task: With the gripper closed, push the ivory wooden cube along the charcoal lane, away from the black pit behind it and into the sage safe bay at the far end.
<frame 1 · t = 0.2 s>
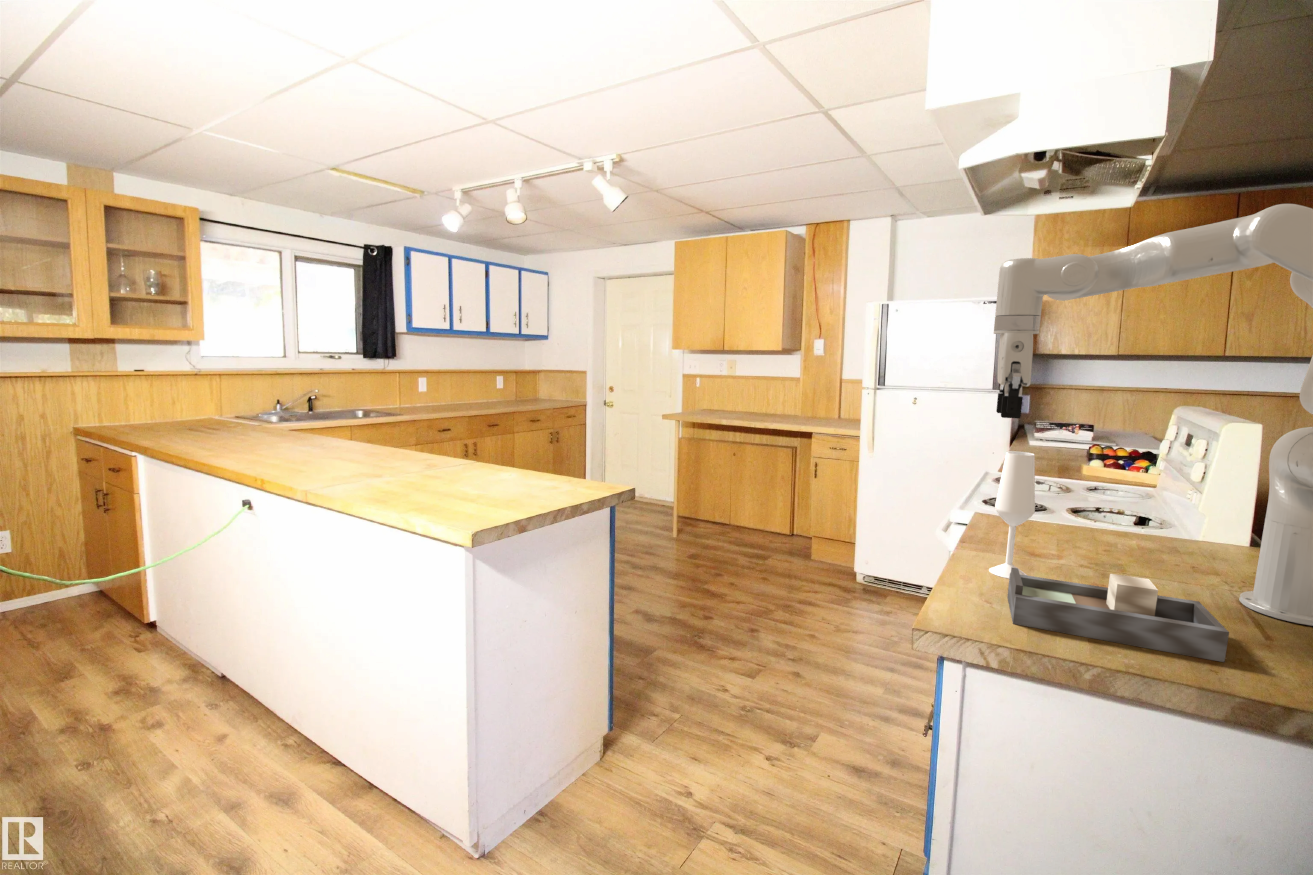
hand: (1007, 415, 118), 31 cm above the worktop, tool pointing down, fingers open, 9 cm apart
block: (1129, 611, 95), point 3 cm above the worktop, touching lane
lane: (1103, 625, 97), on the worktop
champagne flute: (1007, 573, 120), on the worktop
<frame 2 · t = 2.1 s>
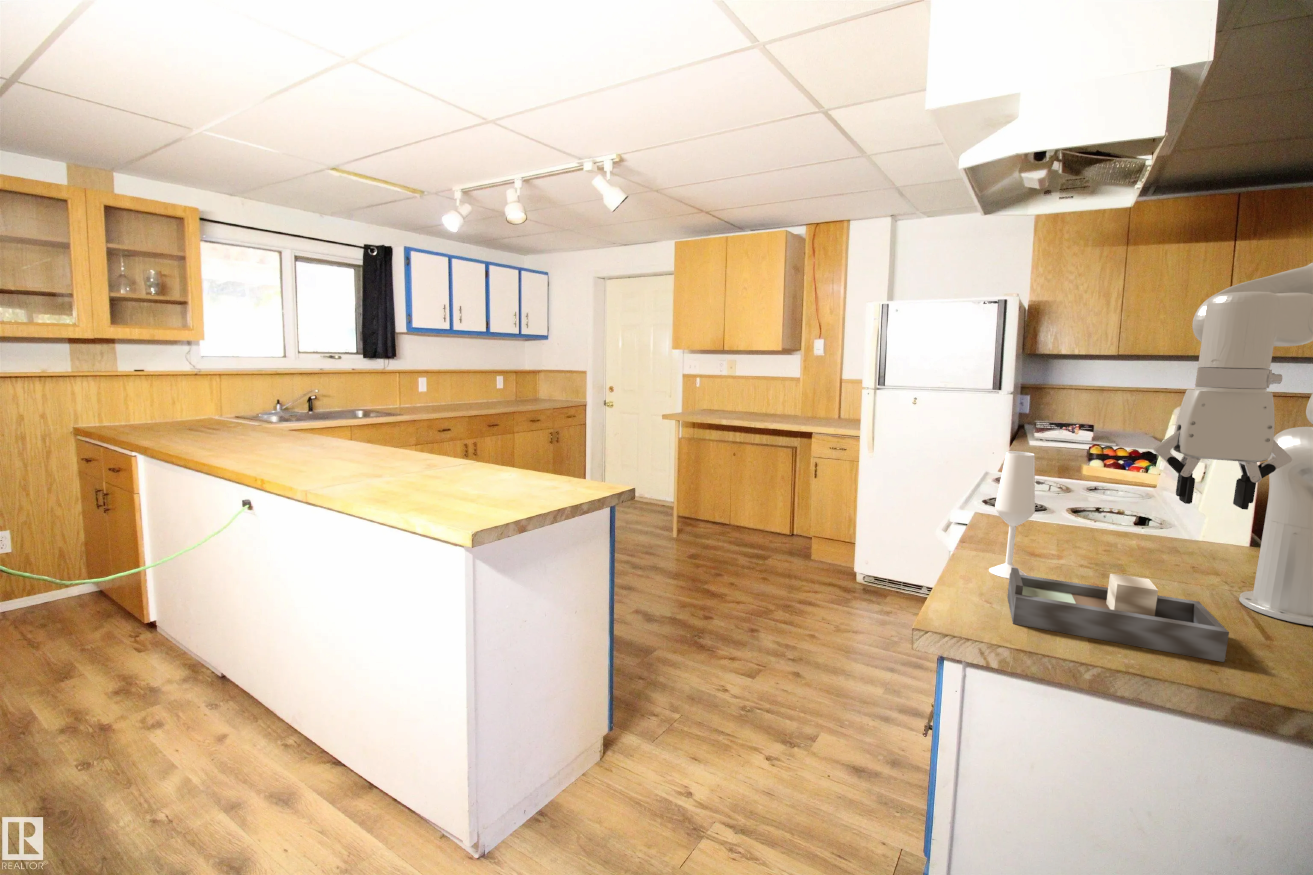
hand: (1212, 503, 89), 22 cm above the worktop, tool pointing down, fingers open, 5 cm apart
nothing on the worktop moved.
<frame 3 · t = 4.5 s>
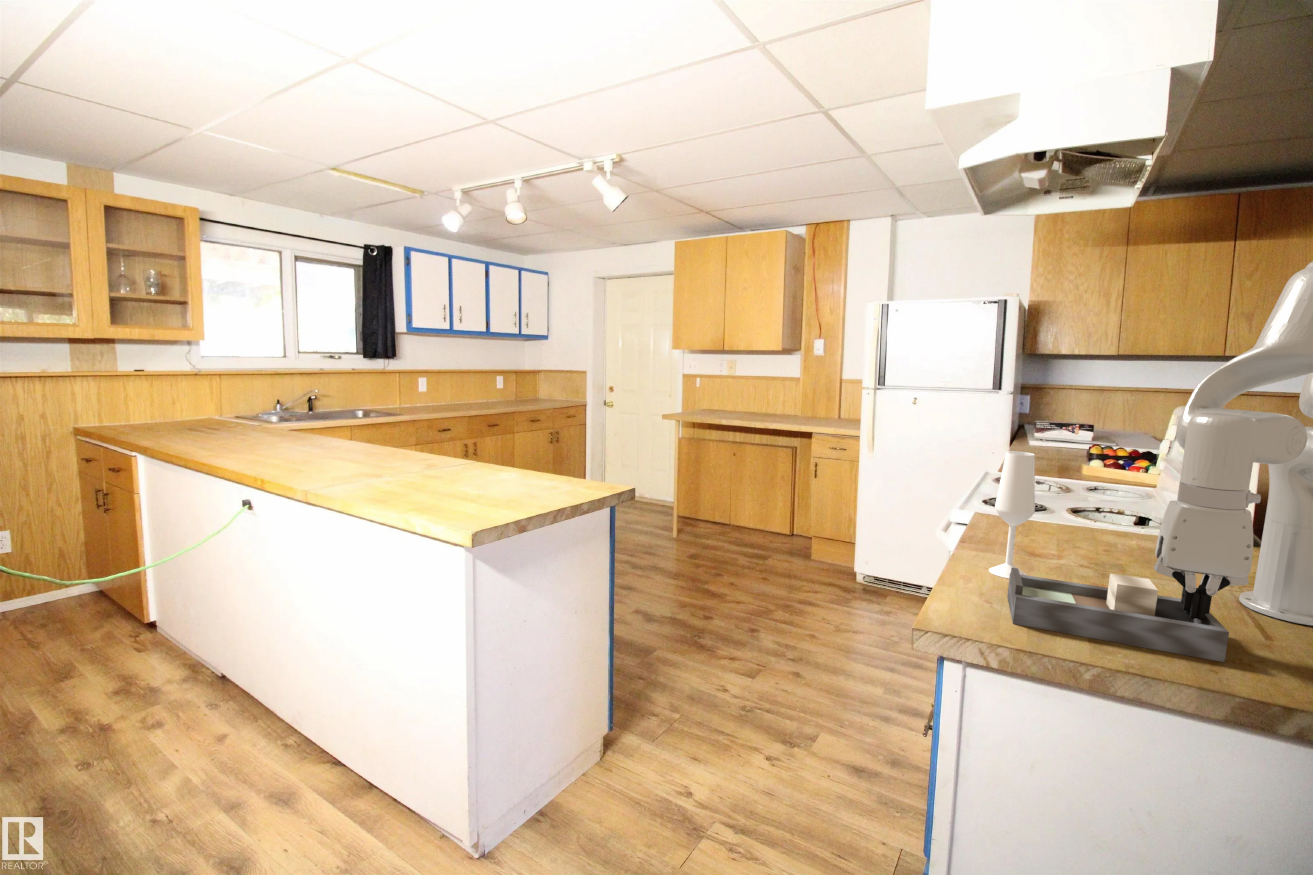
hand: (1193, 615, 92), 4 cm above the worktop, tool pointing down, fingers closed
nothing on the worktop moved.
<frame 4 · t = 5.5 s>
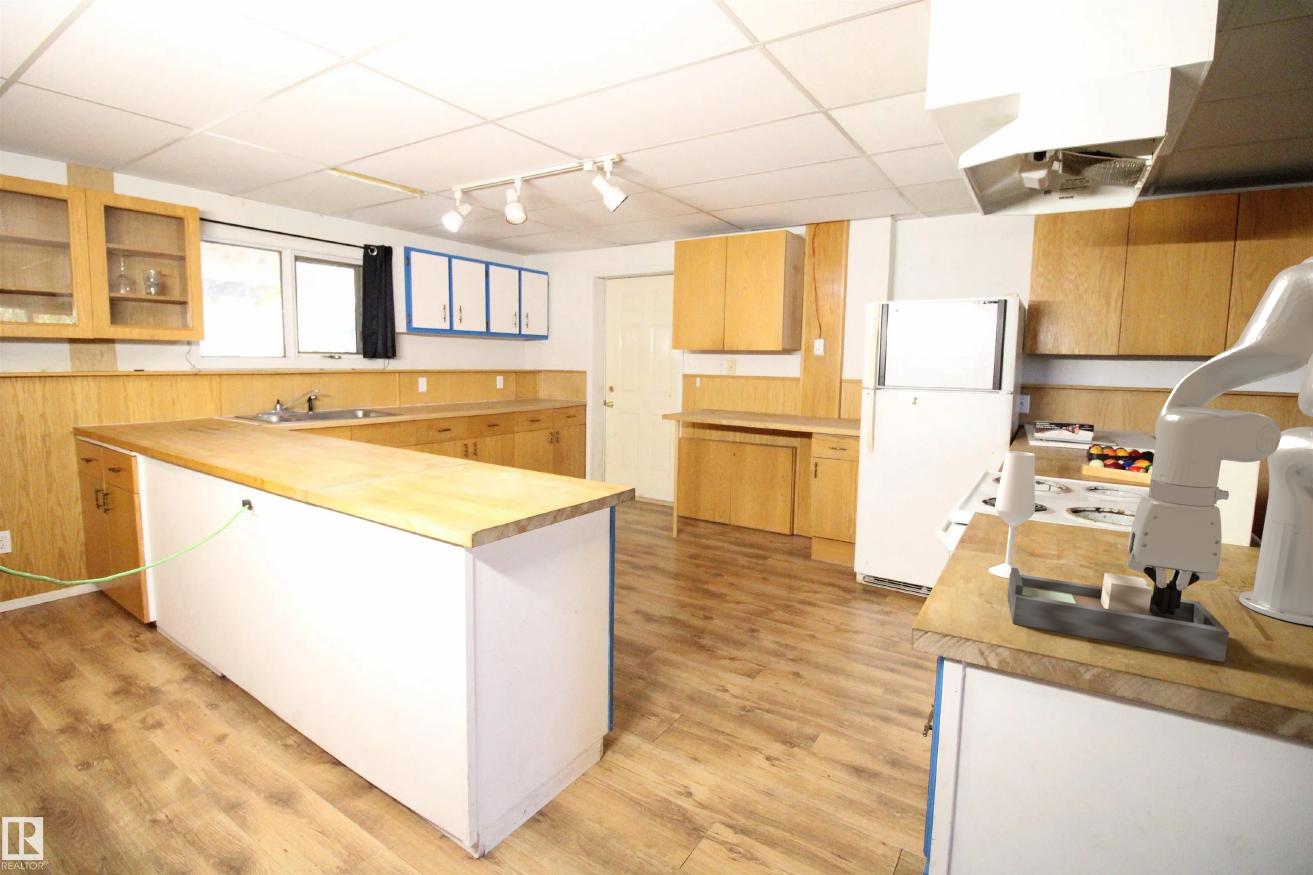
hand: (1164, 610, 93), 4 cm above the worktop, tool pointing down, fingers closed
block: (1123, 610, 96), point 3 cm above the worktop, touching gripper
everything else where it was.
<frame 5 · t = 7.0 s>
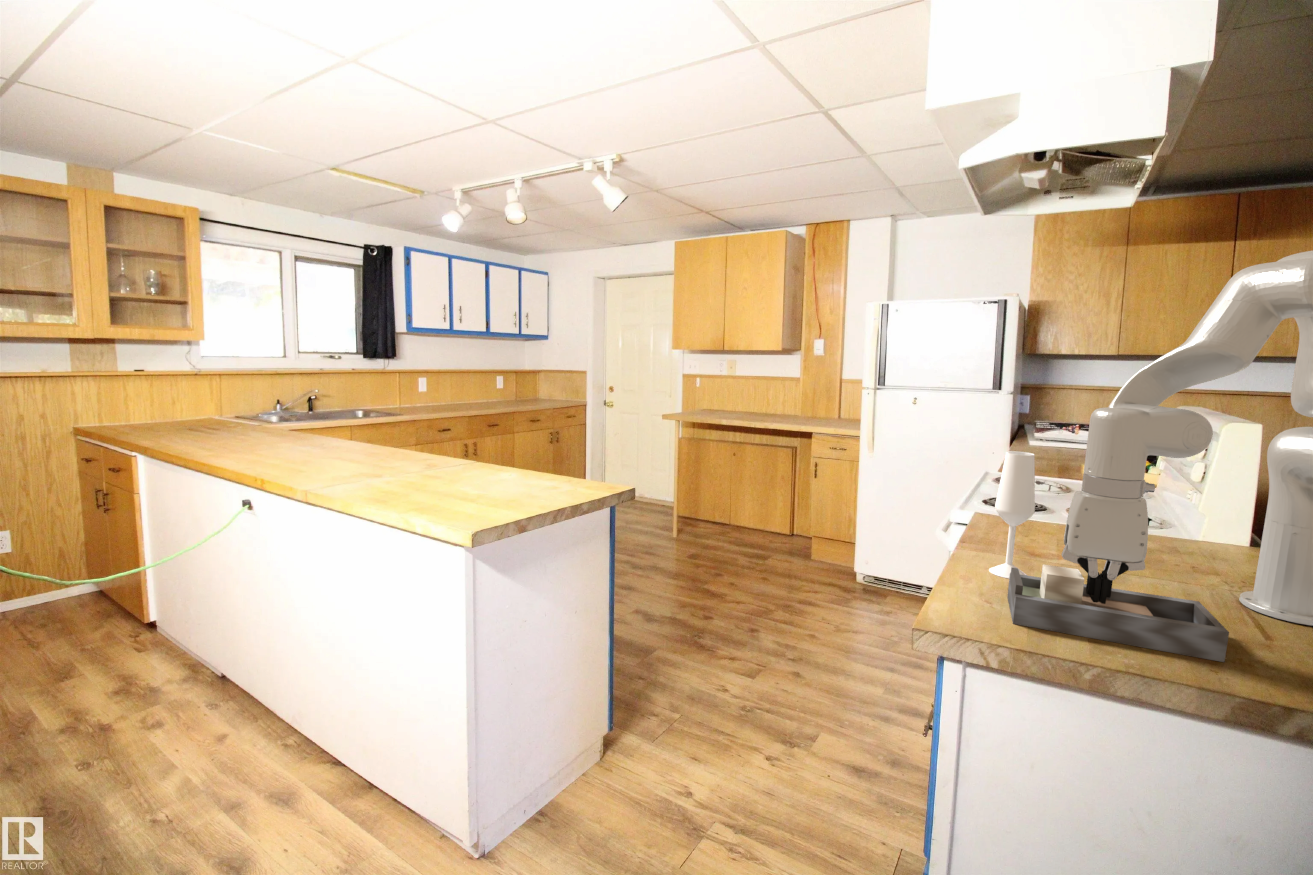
hand: (1097, 599, 97), 4 cm above the worktop, tool pointing down, fingers closed
block: (1059, 600, 99), point 3 cm above the worktop, touching gripper
everything else where it was.
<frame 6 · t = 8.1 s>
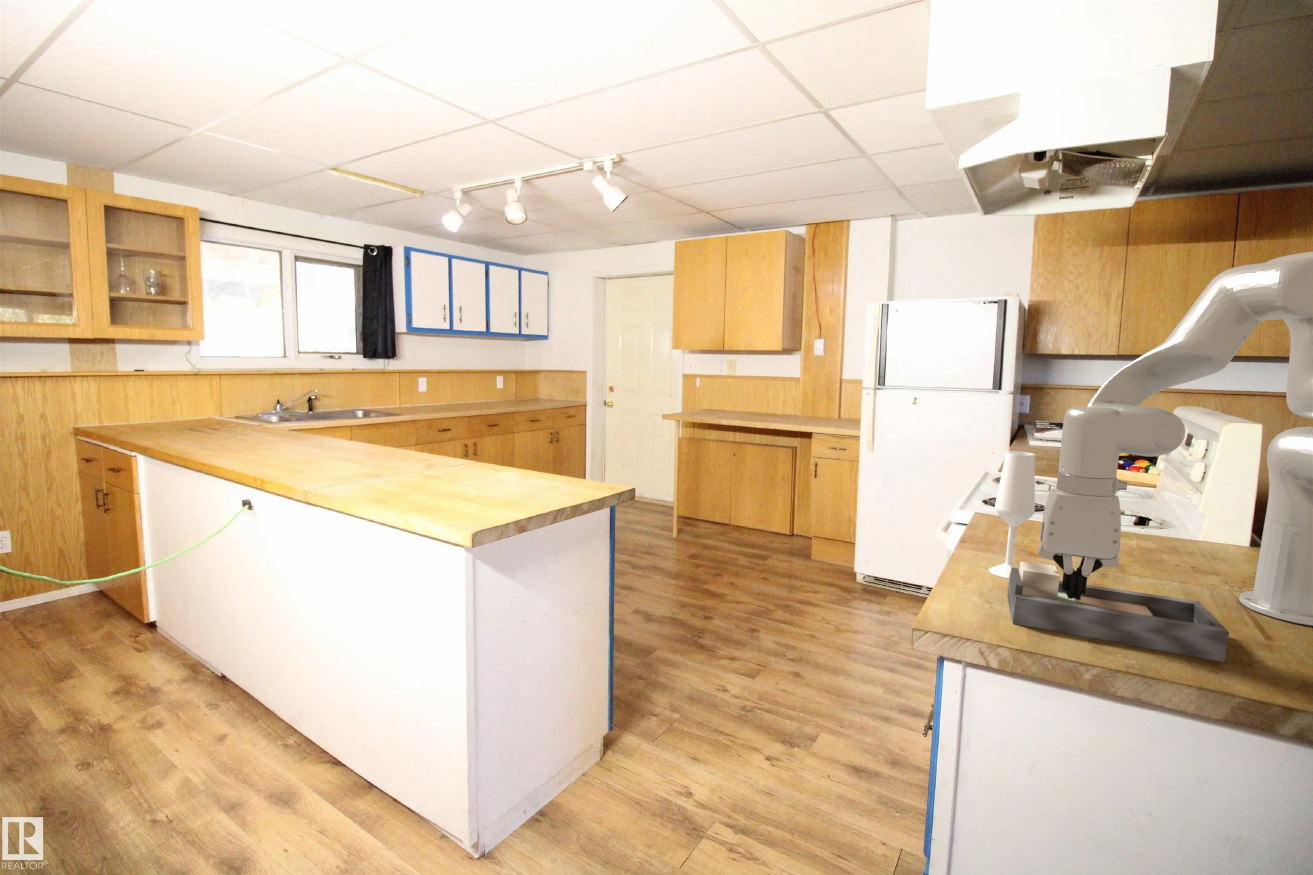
hand: (1072, 596, 98), 4 cm above the worktop, tool pointing down, fingers closed
block: (1036, 597, 101), point 3 cm above the worktop, touching gripper, lane
everything else where it was.
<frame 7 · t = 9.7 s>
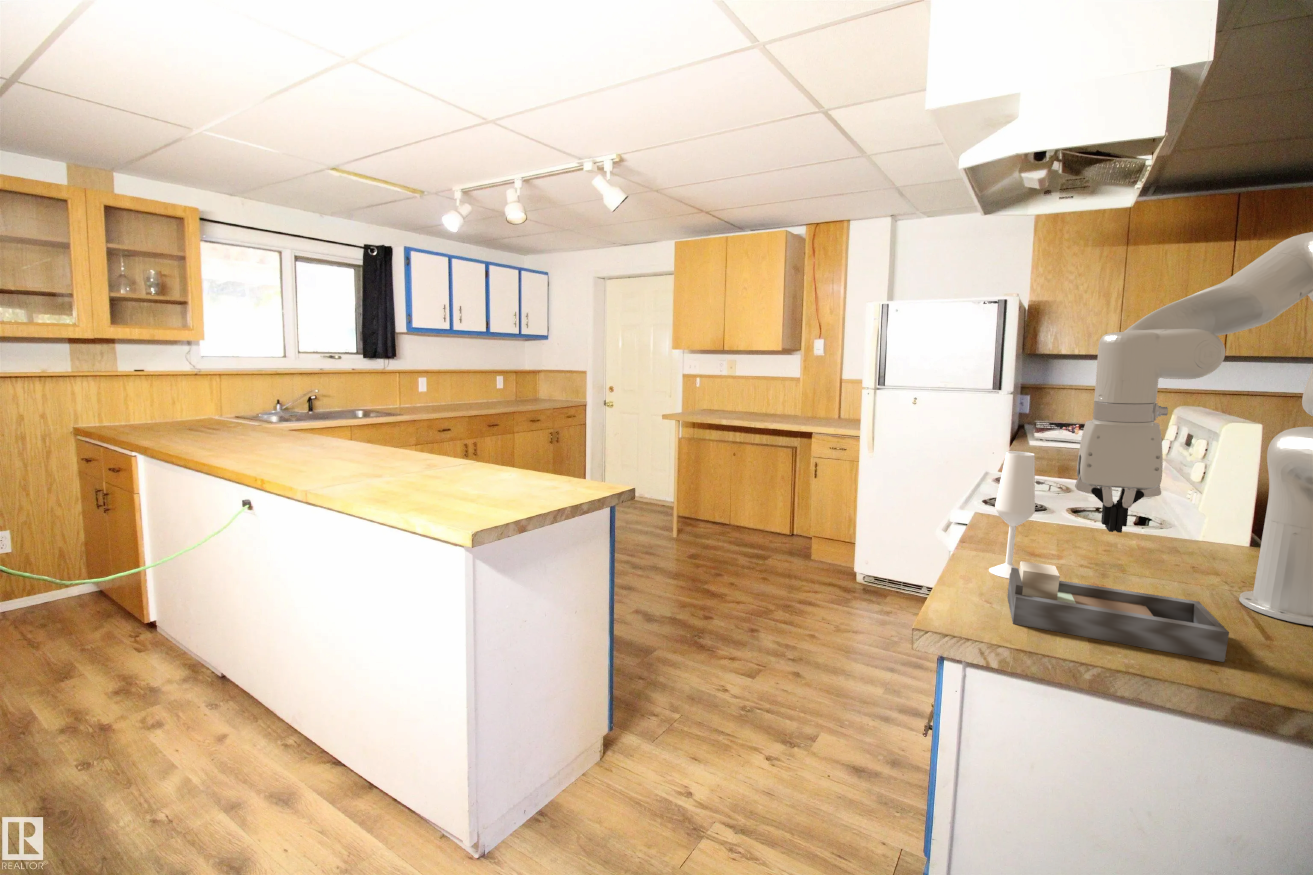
hand: (1113, 529, 95), 16 cm above the worktop, tool pointing down, fingers closed
block: (1036, 597, 101), point 3 cm above the worktop, touching lane
everything else where it was.
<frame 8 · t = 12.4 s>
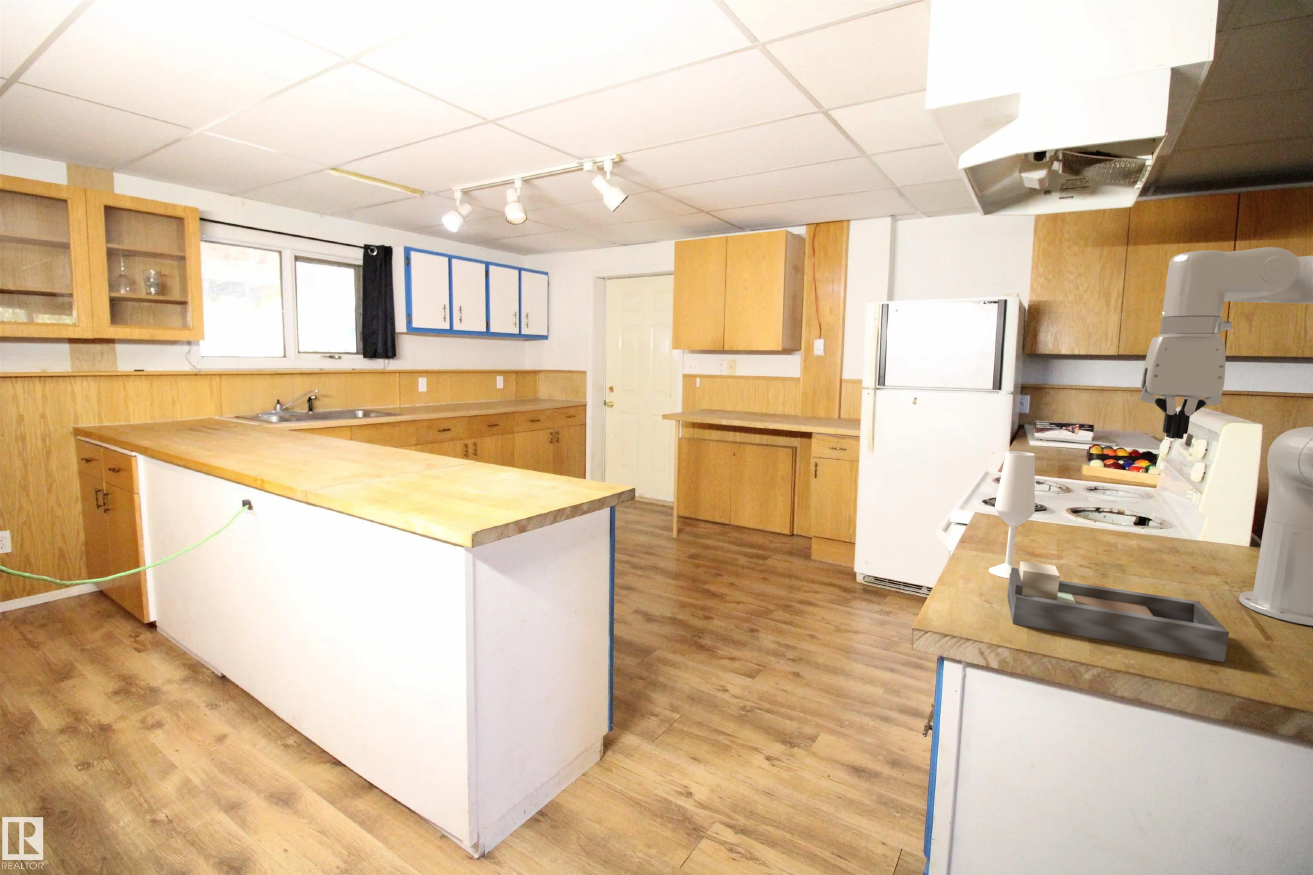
hand: (1174, 437, 104), 29 cm above the worktop, tool pointing down, fingers closed
nothing on the worktop moved.
at the end: block 0.8 cm from the target spot on the lane, point 3.0 cm above the lane's base; block tilted 0° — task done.
